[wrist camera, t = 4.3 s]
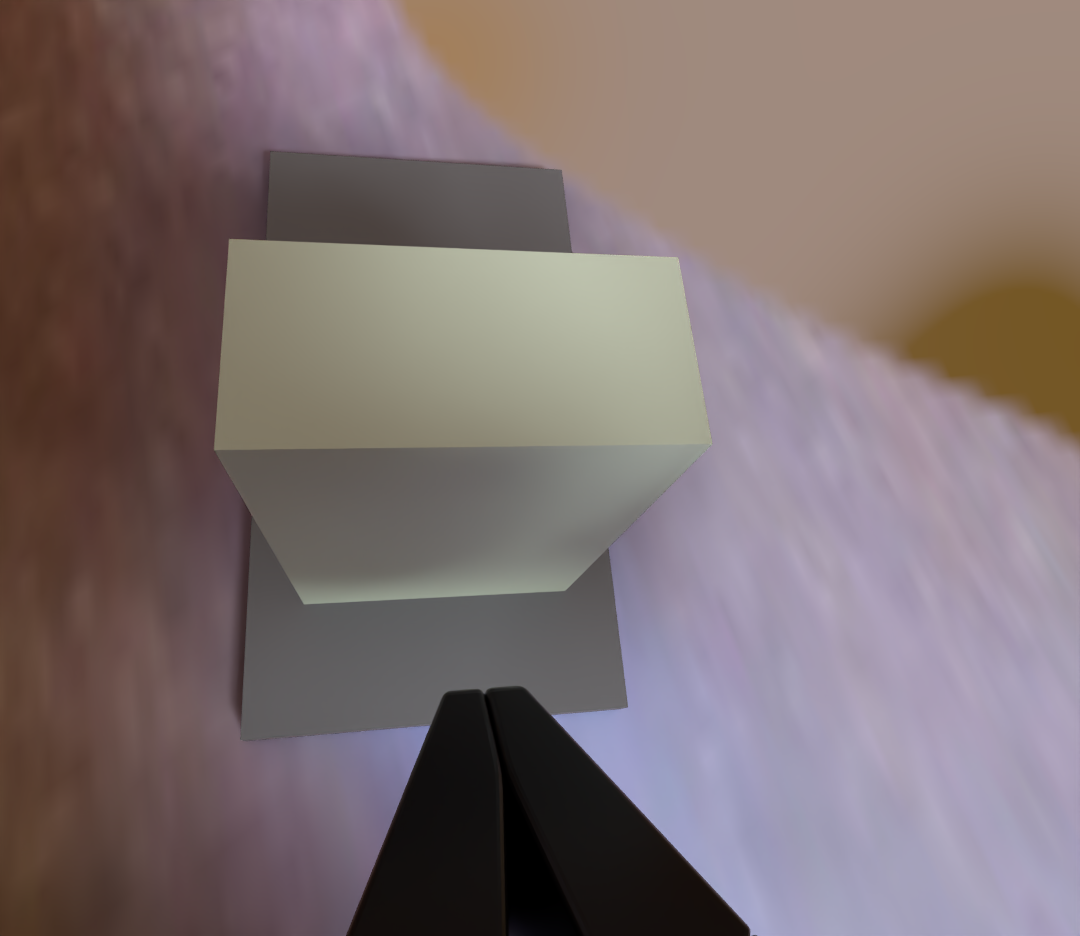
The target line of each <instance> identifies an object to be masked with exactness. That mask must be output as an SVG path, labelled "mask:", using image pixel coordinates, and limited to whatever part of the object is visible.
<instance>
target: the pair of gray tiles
mask: <svg viewBox="0 0 1080 936" xmlns="http://www.w3.org/2000/svg"><path fill="white" fill-rule="evenodd" d="M266 241H291V242H315V243H339V244H363V245H387V246H411V247H435V248H460V249H484V250H508V251H532V252H556V253H572V250H571V242H570V234H569V226H568V218H567V210H566V202H565V194H564V185H563V177H562V170H554V169H539V168H523V167H508V166H492V165H476V164H461V163H445V162H430V161H414V160H398V159H383V158H367V157H352V156H336V155H320V154H305V153H289V152H274V151H271V152H270V171H269V191H268V210H267V230H266ZM505 686H522V687H524V688H526V689H527V690H528V691H529V692H530V693H531V694H532V695H533V696H534V697H535V698H536V700H537V701H538V702H539V703H540V704H541V705H542V706H543V707H544V708H545V709H546V710H547V711H548V712H549V713H550V715H557V714H568V713H580V712H592V711H603V710H615V709H622V708H626V707H628V703H627V695H626V687H625V679H624V671H623V663H622V655H621V647H620V639H619V631H618V622H617V614H616V606H615V598H614V590H613V582H612V574H611V566H610V558H609V550H608V549H607V550H606V551H605V552H604V553H603V554H602V555H601V556H600V557H599V558H598V559H597V560H596V561H595V562H594V563H593V564H592V565H591V566H590V567H589V568H588V569H587V570H586V571H585V572H584V573H583V574H582V575H581V576H580V577H579V578H578V579H577V580H576V581H575V582H574V583H573V584H572V585H571V586H570V587H569V588H568V589H567V590H566V591H554V592H534V593H515V594H496V595H476V596H457V597H438V598H418V599H399V600H380V601H360V602H341V603H321V604H303V602H302V600H301V598H300V597H299V595H298V593H297V592H296V590H295V588H294V586H293V585H292V583H291V581H290V580H289V578H288V576H287V574H286V573H285V571H284V569H283V568H282V566H281V564H280V562H279V561H278V559H277V557H276V556H275V554H274V552H273V550H272V549H271V547H270V545H269V544H268V542H267V540H266V538H265V537H264V535H263V533H262V532H261V530H260V528H259V526H258V525H257V523H256V521H255V520H254V518H253V516H252V523H251V542H250V562H249V581H248V601H247V620H246V640H245V659H244V679H243V699H242V718H241V738H240V740H243V741H252V740H264V739H276V738H287V737H299V736H311V735H323V734H334V733H346V732H358V731H369V730H381V729H393V728H404V727H416V726H428V725H431V723H432V721H433V718H434V716H435V713H436V711H437V708H438V706H439V703H440V701H441V698H442V696H443V695H444V694H445V693H446V692H447V691H452V690H465V689H480V690H482V691H483V693H484V694H485V692H486V690H487V689H489V688H492V687H505Z"/></svg>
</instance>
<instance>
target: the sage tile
mask: <svg viewBox="0 0 1080 936" xmlns="http://www.w3.org/2000/svg"><path fill="white" fill-rule="evenodd" d="M711 445H712V439H711V434H710V429H709V423H708V418H707V412H706V407H705V401H704V396H703V390H702V385H701V380H700V374H699V369H698V363H697V358H696V352H695V347H694V341H693V336H692V331H691V325H690V320H689V314H688V309H687V303H686V298H685V292H684V287H683V282H682V276H681V271H680V265H679V260H678V258H677V257H653V256H629V255H605V254H580V253H556V252H532V251H508V250H484V249H460V248H435V247H411V246H387V245H363V244H339V243H315V242H291V241H266V240H242V239H229V248H228V262H227V276H226V290H225V304H224V318H223V331H222V345H221V359H220V373H219V387H218V400H217V414H216V428H215V442H214V451H215V453H216V454H217V456H218V458H219V460H220V461H221V463H222V465H223V466H224V468H225V470H226V472H227V473H228V475H229V477H230V478H231V480H232V482H233V484H234V485H235V487H236V489H237V490H238V492H239V494H240V496H241V497H242V499H243V501H244V502H245V504H246V506H247V508H248V509H249V511H250V513H251V514H252V516H253V518H254V520H255V521H256V523H257V525H258V526H259V528H260V530H261V532H262V533H263V535H264V537H265V538H266V540H267V542H268V544H269V545H270V547H271V549H272V550H273V552H274V554H275V556H276V557H277V559H278V561H279V562H280V564H281V566H282V568H283V569H284V571H285V573H286V574H287V576H288V578H289V580H290V581H291V583H292V585H293V586H294V588H295V590H296V592H297V593H298V595H299V597H300V598H301V600H302V602H303V604H321V603H341V602H360V601H380V600H399V599H418V598H438V597H457V596H476V595H496V594H515V593H534V592H554V591H566V590H567V589H568V588H569V587H570V586H571V585H572V584H573V583H574V582H575V581H576V580H577V579H578V578H579V577H580V576H581V575H582V574H583V573H584V572H585V571H586V570H587V569H588V568H589V567H590V566H591V565H592V564H593V563H594V562H595V561H596V560H597V559H598V558H599V557H600V556H601V555H602V554H603V553H604V552H605V551H606V550H607V549H608V548H609V547H610V546H611V545H612V544H613V543H614V542H615V541H616V540H617V539H618V538H619V537H620V536H621V535H622V534H623V533H624V532H625V531H626V530H627V529H628V528H629V527H630V526H631V525H632V524H633V523H634V522H635V521H636V520H637V519H638V518H639V517H640V516H641V515H642V514H643V513H644V512H645V511H646V510H647V509H648V508H649V507H650V506H651V505H652V504H653V503H654V502H655V501H656V500H657V499H658V498H659V497H660V496H661V495H662V494H663V493H664V492H665V491H666V490H667V489H668V488H669V487H670V486H671V485H672V484H673V483H674V482H675V481H676V480H677V479H678V478H679V477H680V476H681V475H682V474H683V473H684V472H685V471H686V470H687V469H688V468H689V467H690V466H691V465H692V464H693V463H694V462H695V461H696V460H697V459H698V458H699V457H700V456H701V455H702V454H703V453H704V452H705V451H706V450H707V449H708V448H709V447H710V446H711Z"/></svg>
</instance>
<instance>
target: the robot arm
mask: <svg viewBox="0 0 1080 936" xmlns="http://www.w3.org/2000/svg"><path fill="white" fill-rule="evenodd" d="M346 936H750V928H749V927H748V925H747V924H746V923H745V922H744V921H743V920H742V919H741V918H740V917H739V916H738V915H737V914H736V913H735V912H734V910H733V909H732V908H731V907H730V906H729V905H728V904H727V903H726V902H725V901H724V900H723V899H722V898H721V897H720V895H719V894H718V893H717V892H716V891H715V890H714V889H713V888H712V887H711V886H710V885H709V884H708V883H707V882H706V880H705V879H704V878H703V877H702V876H701V875H700V874H699V873H698V872H697V871H696V870H695V869H694V868H693V867H692V865H691V864H690V863H689V862H688V861H687V860H686V859H685V858H684V857H683V856H682V855H681V854H680V853H679V852H678V850H677V849H676V848H675V847H674V846H673V845H672V844H671V843H670V842H669V841H668V840H667V839H666V838H665V837H664V836H663V834H662V833H661V832H660V831H659V830H658V829H657V828H656V827H655V826H654V825H653V824H652V823H651V822H650V821H649V819H648V818H647V817H646V816H645V815H644V814H643V813H642V812H641V811H640V810H639V809H638V808H637V807H636V806H635V804H634V803H633V802H632V801H631V800H630V799H629V798H628V797H627V796H626V795H625V794H624V793H623V792H622V791H621V789H620V788H619V787H618V786H617V785H616V784H615V783H614V782H613V781H612V780H611V779H610V778H609V777H608V776H607V774H606V773H605V772H604V771H603V770H602V769H601V768H600V767H599V766H598V765H597V764H596V763H595V762H594V761H593V760H592V758H591V757H590V756H589V755H588V754H587V753H586V752H585V751H584V750H583V749H582V748H581V747H580V746H579V745H578V743H577V742H576V741H575V740H574V739H573V738H572V737H571V736H570V735H569V734H568V733H567V732H566V731H565V730H564V728H563V727H562V726H561V725H560V724H559V723H558V722H557V721H556V720H555V719H554V718H553V717H552V716H551V715H550V713H549V712H548V711H547V710H546V709H545V708H544V707H543V706H542V705H541V704H540V703H539V702H538V701H537V700H536V698H535V697H534V696H533V695H532V694H531V693H530V692H529V691H528V690H527V689H526V688H524V687H522V686H505V687H492V688H489V689H487V690H486V692H485V694H484V693H483V691H482V690H480V689H465V690H452V691H447V692H446V693H445V694H444V695H443V696H442V698H441V701H440V703H439V706H438V708H437V711H436V713H435V716H434V718H433V721H432V723H431V726H430V728H429V731H428V733H427V736H426V738H425V741H424V743H423V745H422V748H421V750H420V753H419V755H418V758H417V760H416V763H415V765H414V768H413V770H412V773H411V775H410V778H409V780H408V783H407V785H406V788H405V790H404V793H403V795H402V798H401V800H400V803H399V805H398V808H397V810H396V813H395V815H394V818H393V820H392V823H391V825H390V828H389V830H388V833H387V835H386V838H385V840H384V842H383V845H382V847H381V850H380V852H379V855H378V857H377V860H376V862H375V865H374V867H373V870H372V872H371V875H370V877H369V880H368V882H367V885H366V887H365V890H364V892H363V895H362V897H361V900H360V902H359V905H358V907H357V910H356V912H355V915H354V917H353V920H352V922H351V925H350V927H349V930H348V932H347V935H346ZM753 936H757V935H753Z"/></svg>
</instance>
